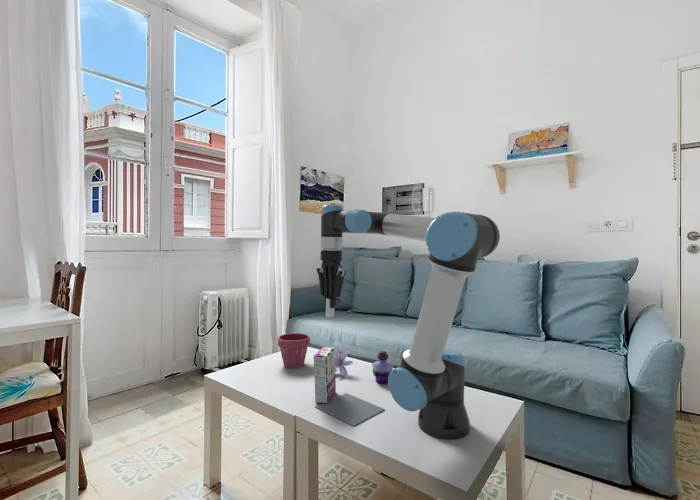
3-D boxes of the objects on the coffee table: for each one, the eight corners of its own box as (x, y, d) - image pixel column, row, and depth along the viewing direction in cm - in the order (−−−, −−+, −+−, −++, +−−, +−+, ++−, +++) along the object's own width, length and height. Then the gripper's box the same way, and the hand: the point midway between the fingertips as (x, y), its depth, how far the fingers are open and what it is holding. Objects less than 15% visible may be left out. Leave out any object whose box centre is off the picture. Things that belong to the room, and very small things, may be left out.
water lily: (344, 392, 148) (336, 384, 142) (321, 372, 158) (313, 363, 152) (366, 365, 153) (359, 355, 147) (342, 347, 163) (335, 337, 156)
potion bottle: (367, 380, 143) (367, 350, 143) (383, 375, 148) (383, 347, 148) (381, 387, 136) (382, 356, 136) (398, 382, 142) (398, 352, 141)
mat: (384, 410, 118) (384, 409, 118) (353, 426, 107) (353, 425, 107) (346, 393, 131) (346, 393, 131) (314, 407, 120) (314, 406, 120)
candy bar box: (323, 390, 133) (322, 346, 133) (336, 391, 132) (335, 347, 132) (314, 403, 122) (313, 355, 122) (328, 404, 121) (327, 355, 121)
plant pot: (299, 357, 172) (299, 331, 171) (315, 365, 161) (315, 337, 161) (272, 363, 163) (272, 335, 162) (287, 372, 152) (287, 342, 152)
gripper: (352, 250, 123) (350, 318, 123) (326, 248, 132) (325, 312, 133) (336, 250, 117) (334, 321, 118) (311, 248, 126) (309, 315, 127)
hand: (329, 316), depth 125 cm, fingers closed
